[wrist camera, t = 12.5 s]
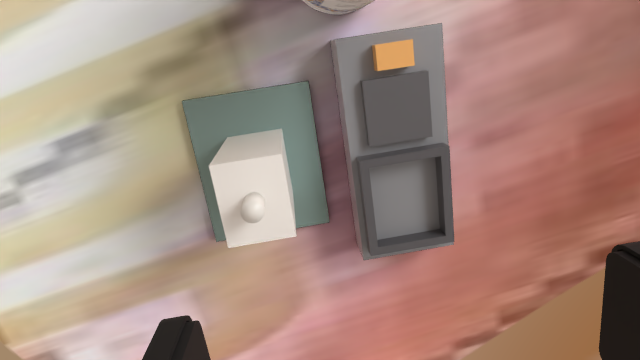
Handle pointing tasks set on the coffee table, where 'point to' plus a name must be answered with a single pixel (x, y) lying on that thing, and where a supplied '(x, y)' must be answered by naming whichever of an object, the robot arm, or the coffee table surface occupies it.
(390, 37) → the power strip
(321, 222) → the mat
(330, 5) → the bath foam
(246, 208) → the block
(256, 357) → the coffee table surface
